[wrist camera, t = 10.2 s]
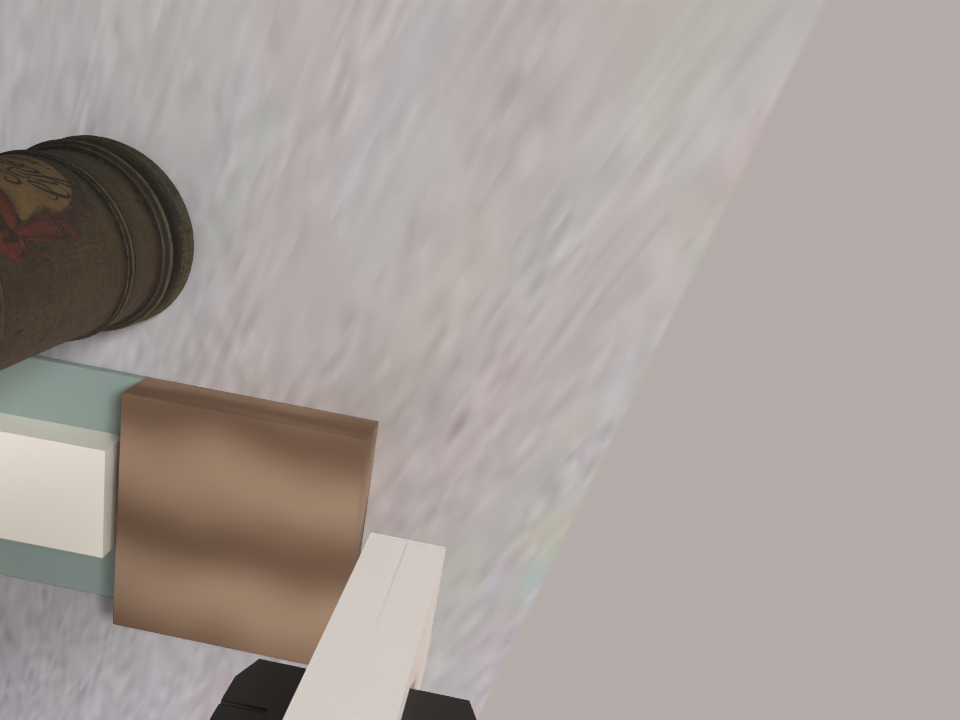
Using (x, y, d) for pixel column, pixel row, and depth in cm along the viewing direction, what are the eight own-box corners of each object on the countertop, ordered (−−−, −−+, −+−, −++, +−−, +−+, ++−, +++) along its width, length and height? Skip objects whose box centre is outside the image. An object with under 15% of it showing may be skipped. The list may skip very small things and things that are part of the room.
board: (147, 377, 43) (122, 392, 40) (378, 421, 42) (367, 440, 40) (136, 597, 47) (112, 623, 44) (348, 641, 46) (335, 670, 44)
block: (-23, 408, 44) (-50, 421, 42) (125, 435, 43) (104, 450, 42) (-21, 511, 46) (-46, 529, 44) (122, 538, 45) (102, 557, 43)
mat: (-60, 336, 43) (-65, 338, 43) (147, 377, 43) (143, 379, 42) (-54, 558, 47) (-59, 561, 47) (136, 597, 47) (132, 601, 46)
